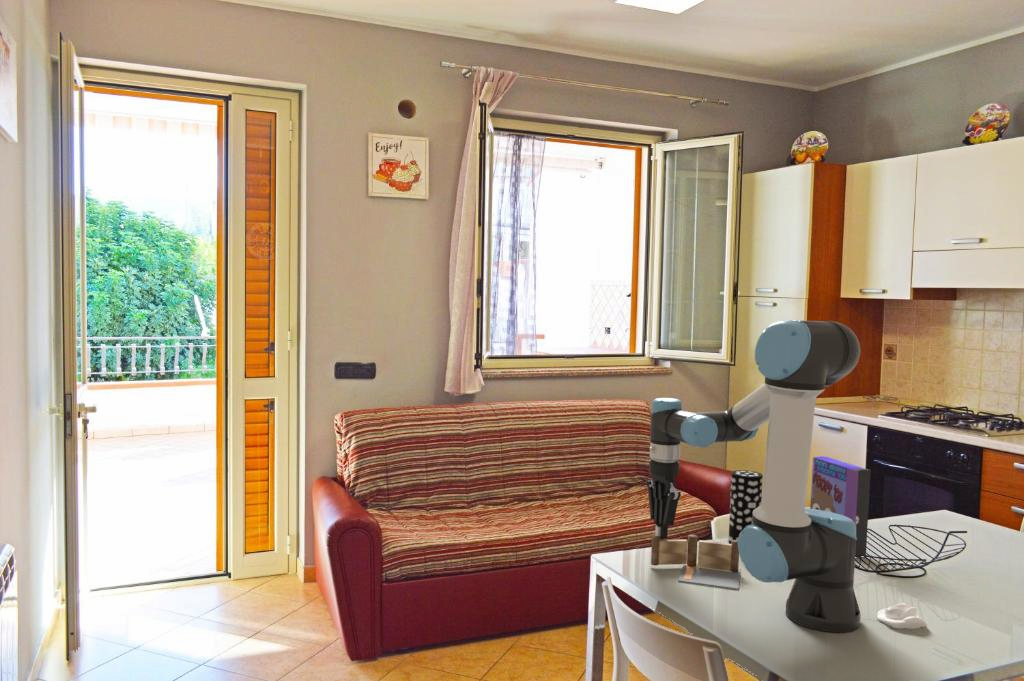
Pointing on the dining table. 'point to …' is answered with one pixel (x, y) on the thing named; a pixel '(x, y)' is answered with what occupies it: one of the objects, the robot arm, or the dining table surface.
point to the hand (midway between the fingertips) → (660, 550)
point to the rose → (901, 617)
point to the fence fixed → (713, 554)
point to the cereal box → (842, 494)
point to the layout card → (710, 577)
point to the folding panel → (668, 551)
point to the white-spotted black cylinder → (743, 500)
